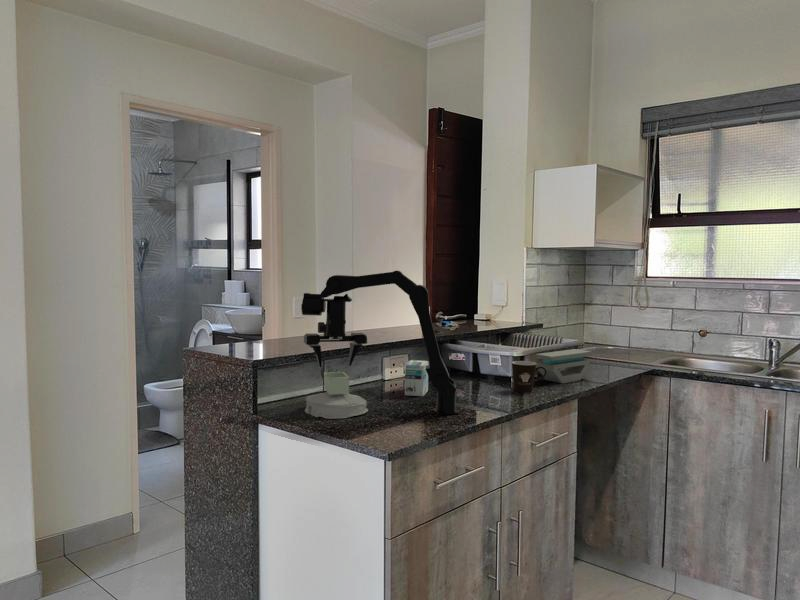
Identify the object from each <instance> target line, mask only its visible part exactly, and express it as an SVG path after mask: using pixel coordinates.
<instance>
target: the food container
mask: <svg viewBox="0 0 800 600" xmlns="http://www.w3.org/2000/svg"><path fill="white" fill-rule="evenodd" d="M305 401H306V407H305V409H304V412H305V414H307V415H310V416H312V417H316V418H319V417H321V418H324V419H335V420H336V419H346V418H352V417H354V416H360V415H364V414H365V413H367V412H368V411H369V408H367V406H368V401H367V400H365V398H363V397H362V396H359V395H355V394H351V393H349V394H335V395H329V394H328V393H327V392H324V393H317V394H311V395H308V396H307V397H306V398H305Z"/></svg>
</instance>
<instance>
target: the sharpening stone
mask: <svg viewBox="0 0 800 600" xmlns="http://www.w3.org/2000/svg"><path fill="white" fill-rule="evenodd" d="M592 353H593V351H591V350H585V349H577V348H573V349H566V350H565V349H564V350H559V351H557V350H556V351H550V352H542V353H541V352H540V353H536V354H535V356H534V358H535V359H538V360H543V361H539V362H536V368H538V367H544V368H545V369H546V375H545V376H544V377H543V378H544V380H545V381H549V382H553V383H559V384H567V383H571V382H578V381H581V380H582V378H583V377H584V376H585V374H586V372H587V370H588V368H589V367H590V363H591V359H586V358H584V357H589V356H593V355H592ZM559 369H562V370H559ZM563 369H564V370H563ZM537 371H538V372H539V373H540V374H541V375H542V376H543V375H544V374H545V370H544V369H542V368H540V369H538V370H537Z"/></svg>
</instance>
